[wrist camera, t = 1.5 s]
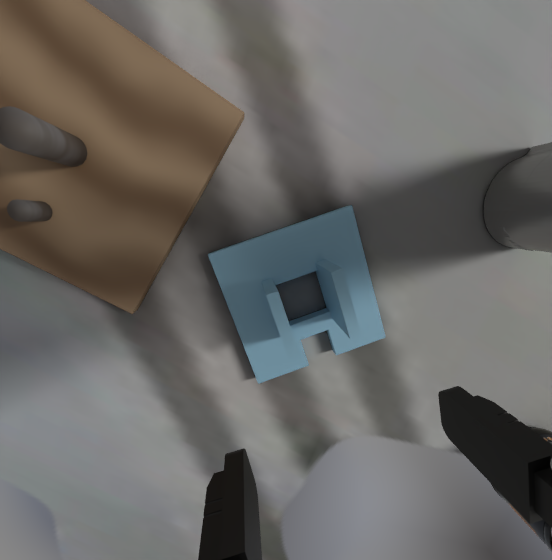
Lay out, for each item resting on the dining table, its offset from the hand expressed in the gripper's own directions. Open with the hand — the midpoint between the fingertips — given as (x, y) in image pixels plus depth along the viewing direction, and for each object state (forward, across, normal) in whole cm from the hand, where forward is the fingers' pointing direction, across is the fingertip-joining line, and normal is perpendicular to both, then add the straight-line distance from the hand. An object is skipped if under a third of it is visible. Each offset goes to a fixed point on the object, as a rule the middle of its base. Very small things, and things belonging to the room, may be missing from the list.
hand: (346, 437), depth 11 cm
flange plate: (+18, -2, 0) cm, 19 cm away
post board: (+18, +14, -17) cm, 29 cm away
